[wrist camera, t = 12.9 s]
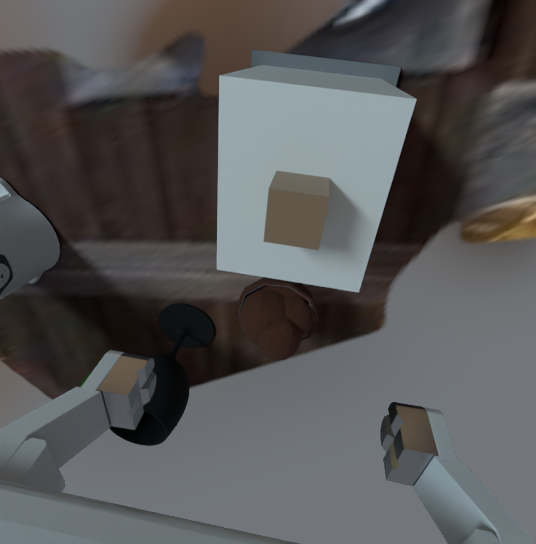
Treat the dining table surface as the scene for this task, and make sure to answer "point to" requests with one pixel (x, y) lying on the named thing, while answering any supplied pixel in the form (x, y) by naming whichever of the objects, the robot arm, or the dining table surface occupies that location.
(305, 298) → the ice cream bowl
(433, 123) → the dining table surface
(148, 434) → the wine glass
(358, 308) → the dining table surface
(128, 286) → the dining table surface
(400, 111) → the cover
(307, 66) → the mat
